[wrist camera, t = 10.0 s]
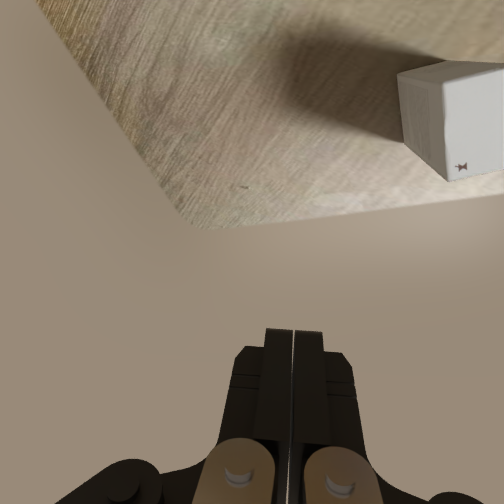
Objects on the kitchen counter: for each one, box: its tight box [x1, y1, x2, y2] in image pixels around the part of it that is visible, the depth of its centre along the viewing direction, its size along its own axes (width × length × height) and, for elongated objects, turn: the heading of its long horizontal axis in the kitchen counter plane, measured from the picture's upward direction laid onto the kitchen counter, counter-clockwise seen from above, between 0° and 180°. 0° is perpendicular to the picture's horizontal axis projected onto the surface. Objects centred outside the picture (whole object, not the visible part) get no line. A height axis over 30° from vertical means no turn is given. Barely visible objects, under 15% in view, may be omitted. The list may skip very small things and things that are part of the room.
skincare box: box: [397, 60, 504, 182], centre depth 30 cm, size 6×4×12 cm
